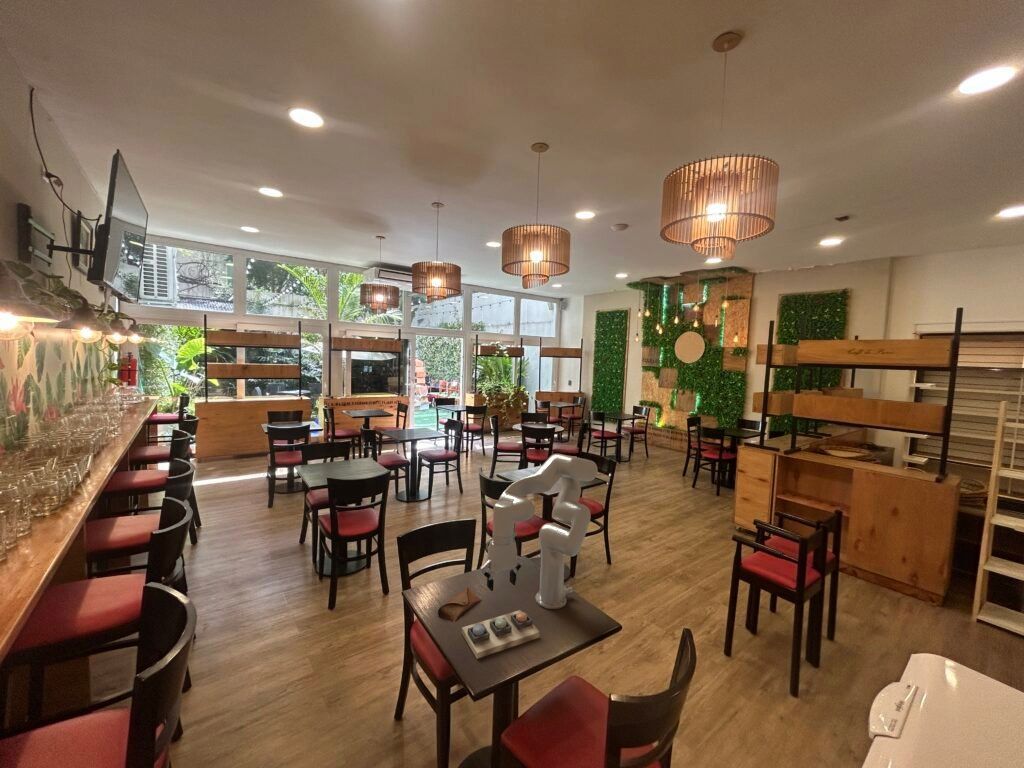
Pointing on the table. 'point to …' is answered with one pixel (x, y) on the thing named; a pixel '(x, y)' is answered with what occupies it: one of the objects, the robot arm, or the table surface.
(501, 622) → the sage button
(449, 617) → the sunglasses case
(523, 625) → the button panel
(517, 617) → the terracotta button
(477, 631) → the slate button
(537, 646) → the table surface
